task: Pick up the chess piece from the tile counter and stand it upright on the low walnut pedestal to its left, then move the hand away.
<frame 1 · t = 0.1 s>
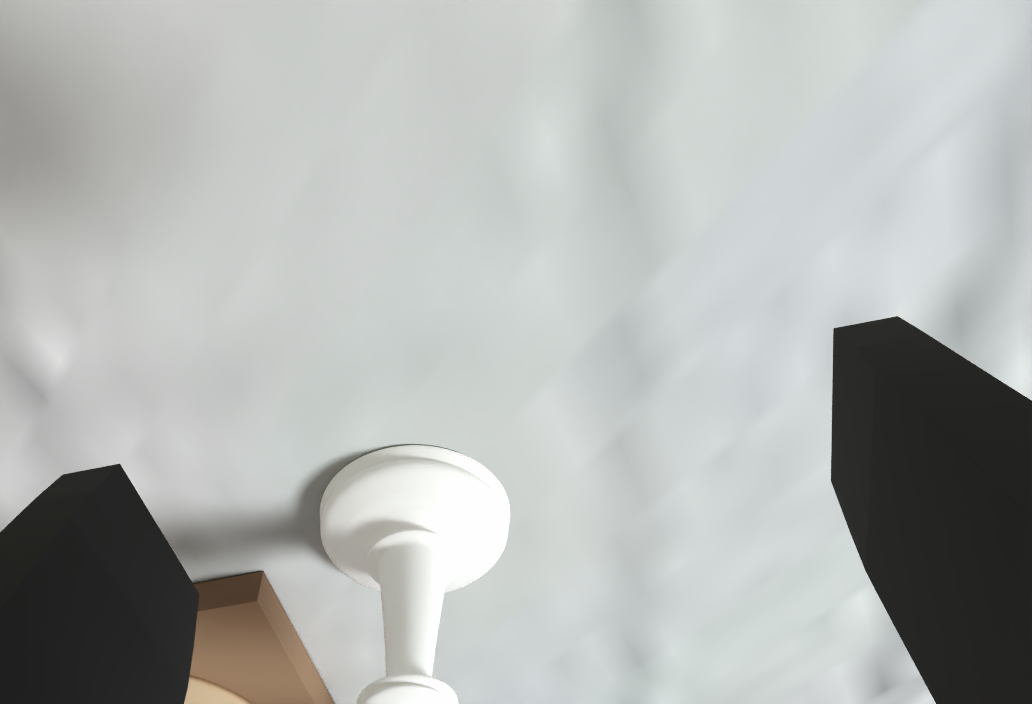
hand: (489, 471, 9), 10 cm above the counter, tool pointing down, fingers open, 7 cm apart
chess piece: (416, 509, 24), on the counter
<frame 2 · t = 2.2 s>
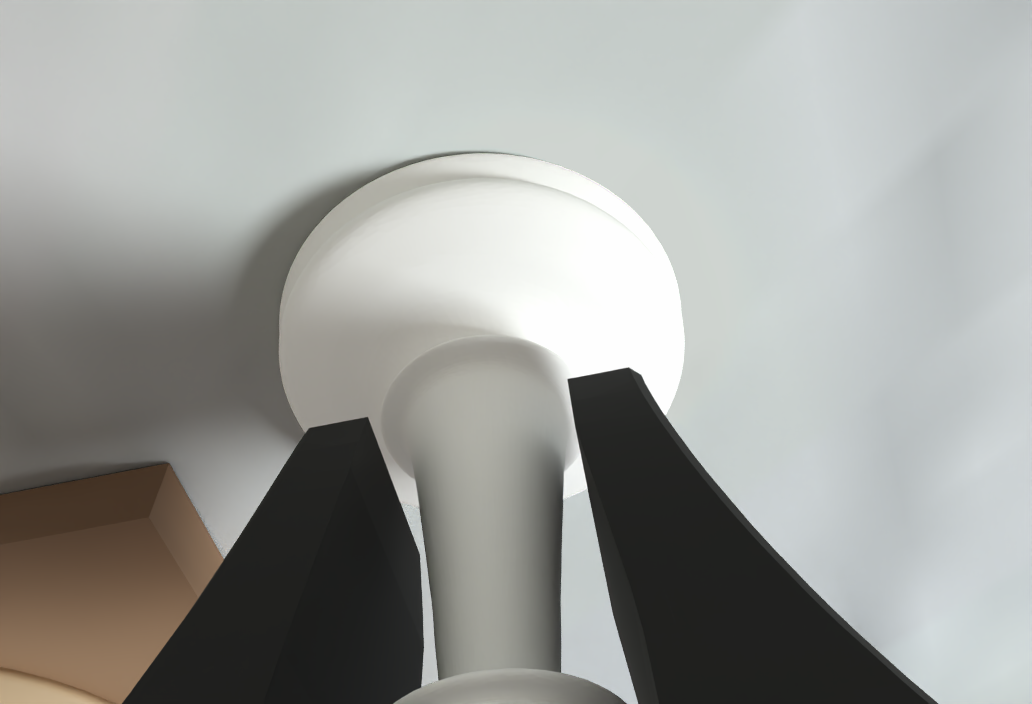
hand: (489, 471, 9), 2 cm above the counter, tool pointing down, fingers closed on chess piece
chess piece: (482, 329, 11), on the counter, touching gripper
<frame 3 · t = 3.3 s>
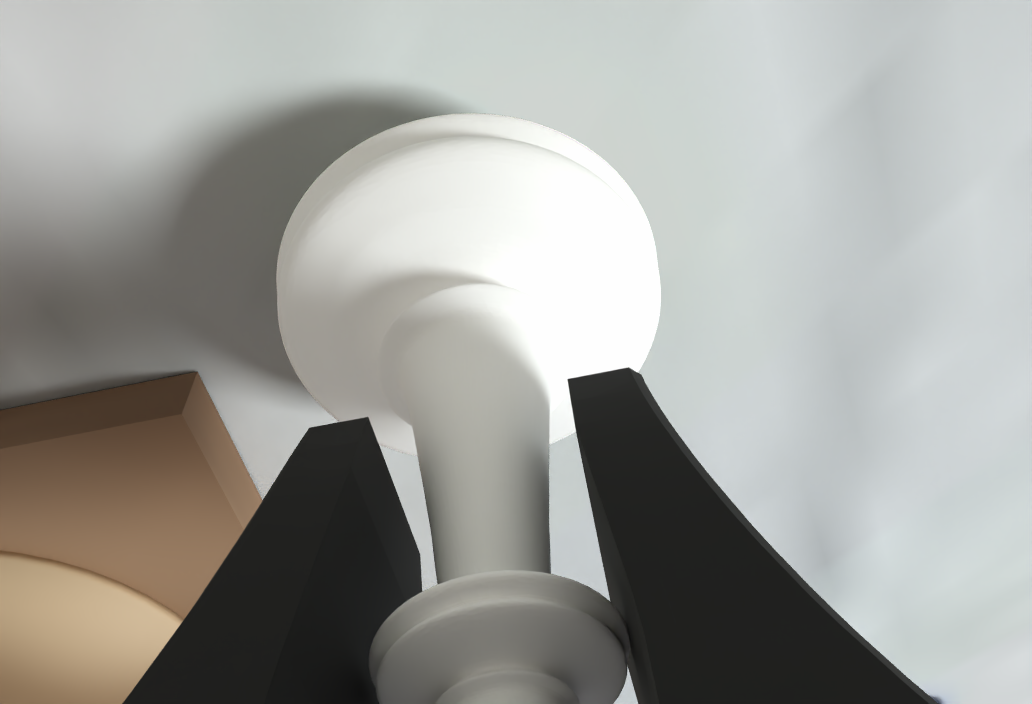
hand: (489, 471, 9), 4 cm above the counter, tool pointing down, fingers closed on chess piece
chess piece: (469, 283, 12), point 1 cm above the counter, touching gripper
pedestal: (33, 652, 17), on the counter
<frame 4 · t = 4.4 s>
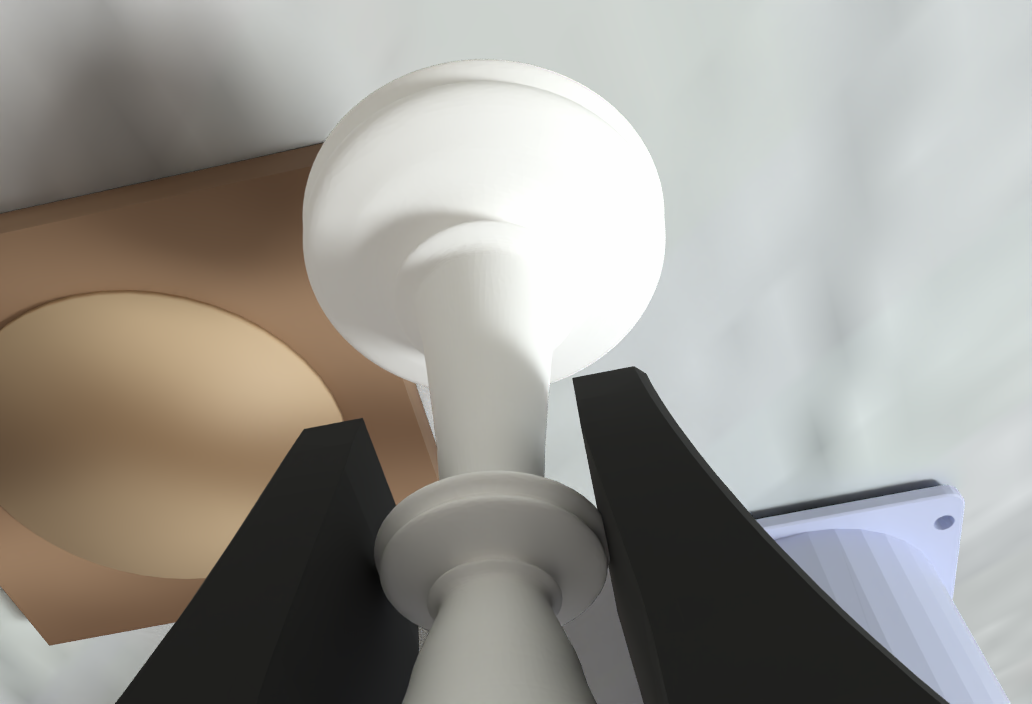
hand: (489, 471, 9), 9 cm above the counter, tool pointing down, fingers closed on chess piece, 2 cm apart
chess piece: (484, 225, 13), point 5 cm above the counter, touching gripper
pedestal: (174, 418, 20), on the counter
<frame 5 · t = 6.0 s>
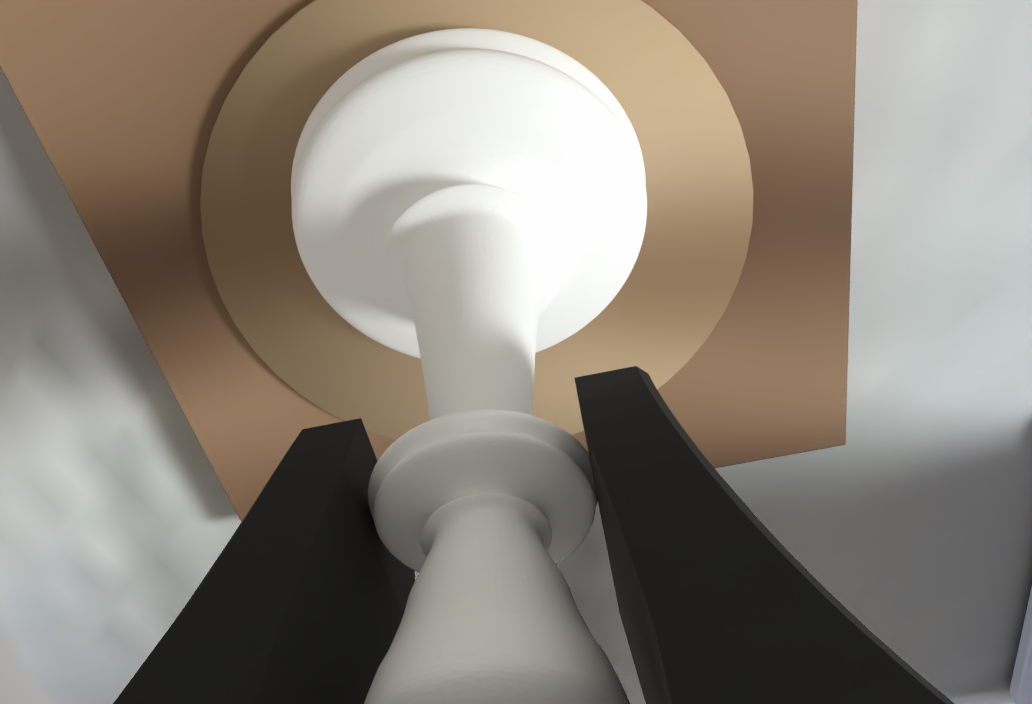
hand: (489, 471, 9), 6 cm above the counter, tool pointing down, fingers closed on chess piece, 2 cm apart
chess piece: (470, 195, 13), point 1 cm above the counter, touching gripper, pedestal
pedestal: (479, 208, 14), on the counter
when the fingers open (5 cm above the counter, at t = 6.5 s): chess piece stays where it is, resting on pedestal.
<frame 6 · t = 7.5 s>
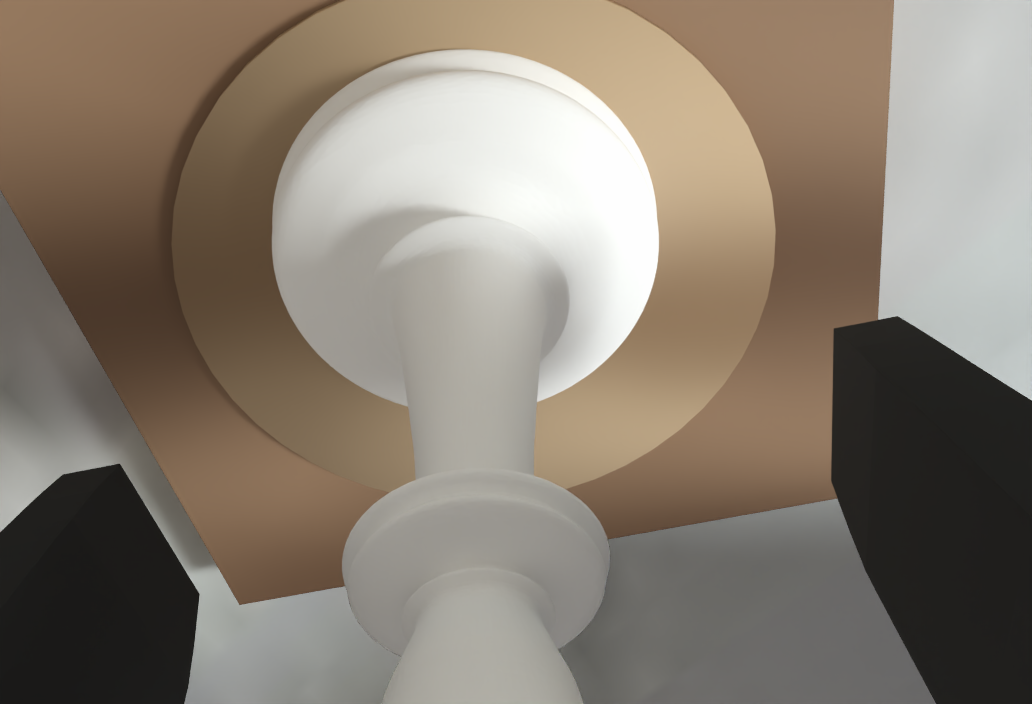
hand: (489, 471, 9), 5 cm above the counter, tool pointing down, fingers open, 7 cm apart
chess piece: (467, 231, 12), point 1 cm above the counter, touching pedestal
pedestal: (477, 245, 13), on the counter
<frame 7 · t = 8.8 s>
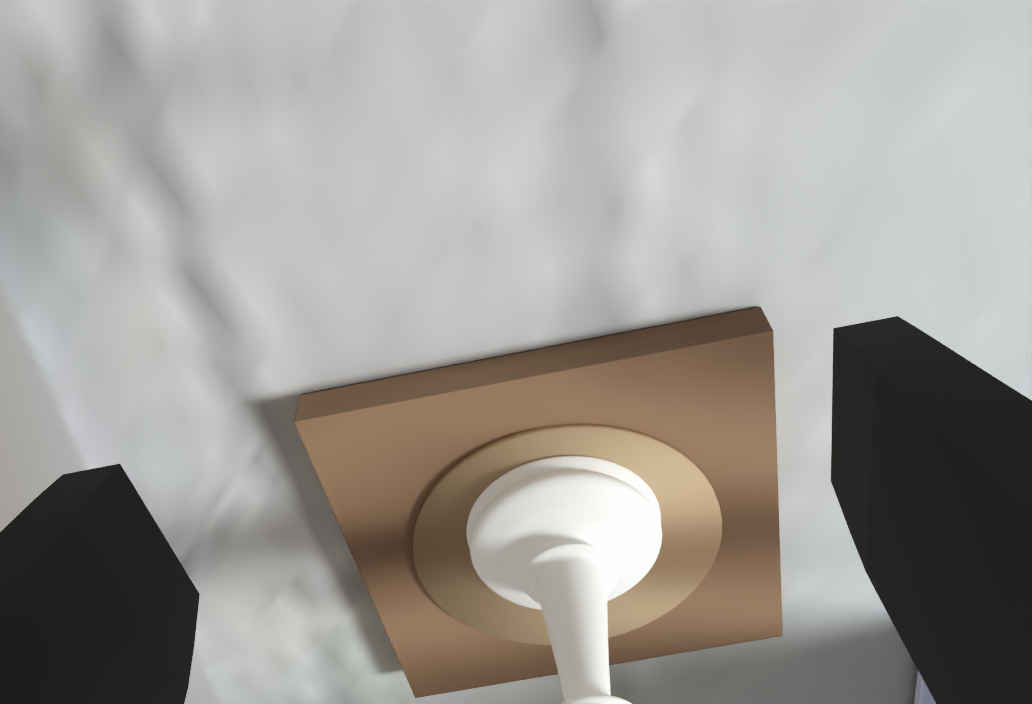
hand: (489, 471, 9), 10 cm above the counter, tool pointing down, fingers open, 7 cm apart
chess piece: (562, 521, 23), point 1 cm above the counter, touching pedestal
pedestal: (563, 514, 24), on the counter
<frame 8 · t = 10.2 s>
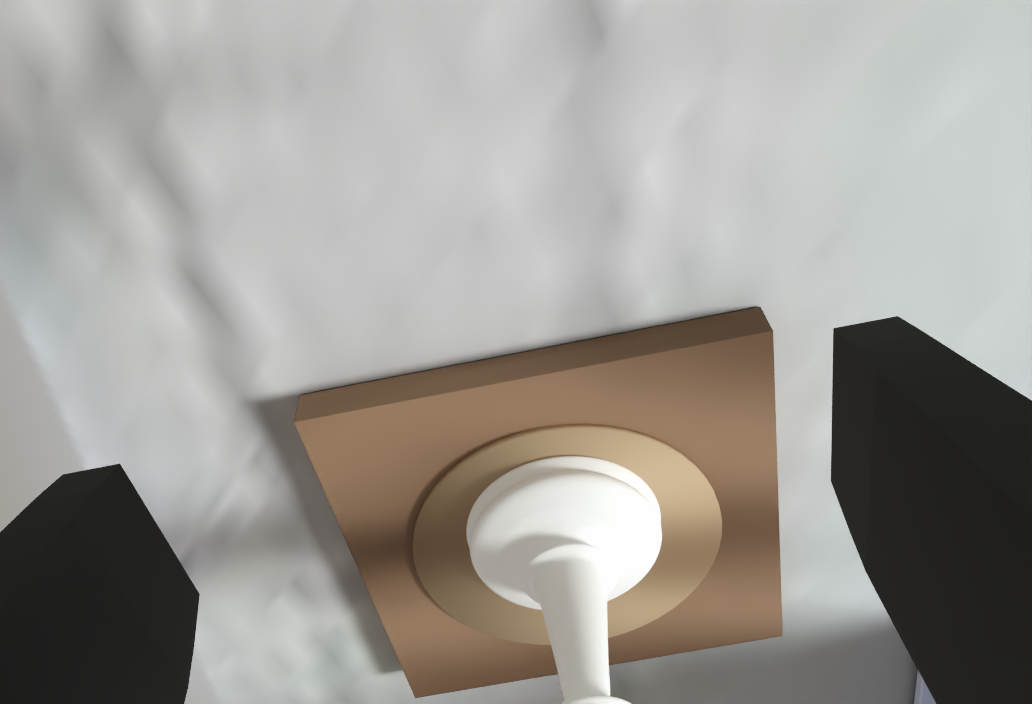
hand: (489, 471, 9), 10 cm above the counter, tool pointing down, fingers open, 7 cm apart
chess piece: (562, 521, 23), point 1 cm above the counter, touching pedestal
pedestal: (563, 514, 24), on the counter
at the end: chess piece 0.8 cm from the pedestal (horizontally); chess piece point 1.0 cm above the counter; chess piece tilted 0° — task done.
